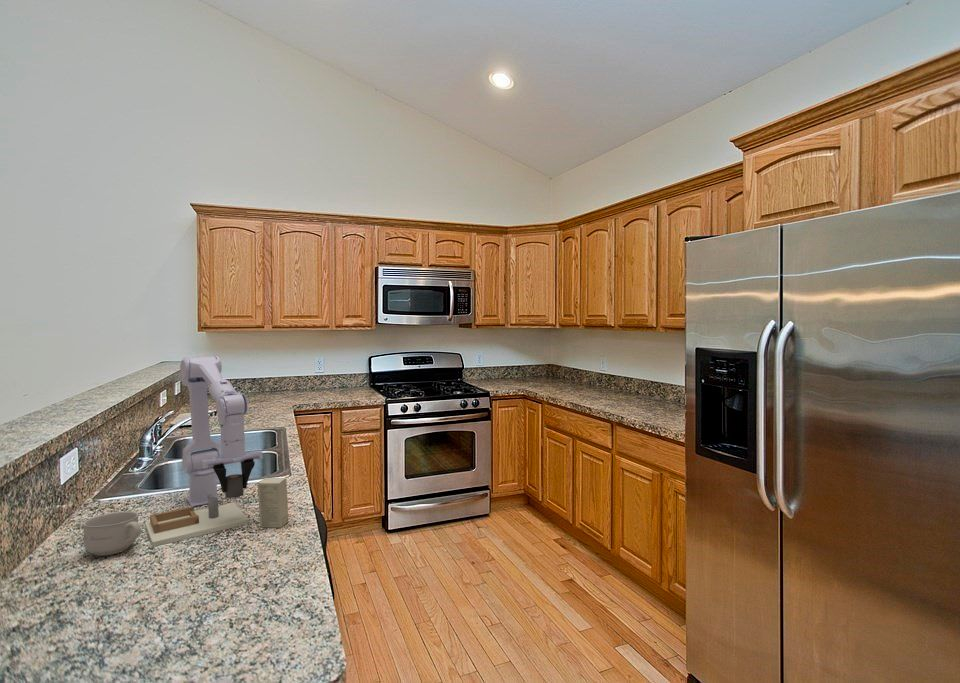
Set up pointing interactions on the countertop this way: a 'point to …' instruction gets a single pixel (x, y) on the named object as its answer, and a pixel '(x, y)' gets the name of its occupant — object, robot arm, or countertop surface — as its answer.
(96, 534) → the teacup
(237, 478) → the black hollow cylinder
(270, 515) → the skincare box
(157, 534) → the board
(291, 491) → the countertop surface
